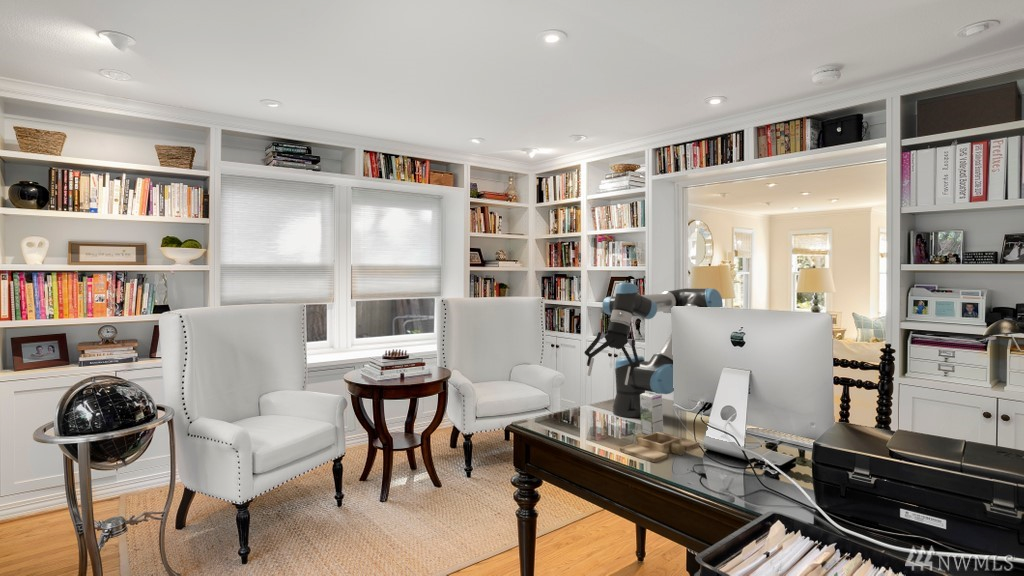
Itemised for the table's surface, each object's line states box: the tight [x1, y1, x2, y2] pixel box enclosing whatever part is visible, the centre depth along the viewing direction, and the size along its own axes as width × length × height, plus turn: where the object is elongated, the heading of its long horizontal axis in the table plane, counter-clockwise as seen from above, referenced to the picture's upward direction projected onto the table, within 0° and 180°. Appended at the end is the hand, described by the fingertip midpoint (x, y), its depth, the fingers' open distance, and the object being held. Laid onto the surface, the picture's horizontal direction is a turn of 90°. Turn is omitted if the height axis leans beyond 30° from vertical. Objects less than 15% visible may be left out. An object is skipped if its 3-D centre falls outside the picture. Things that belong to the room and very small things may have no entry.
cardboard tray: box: [619, 432, 700, 463], centre depth 176 cm, size 18×23×4 cm
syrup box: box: [640, 391, 665, 435], centre depth 192 cm, size 6×6×14 cm
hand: (607, 380), depth 194 cm, fingers open, 13 cm apart
